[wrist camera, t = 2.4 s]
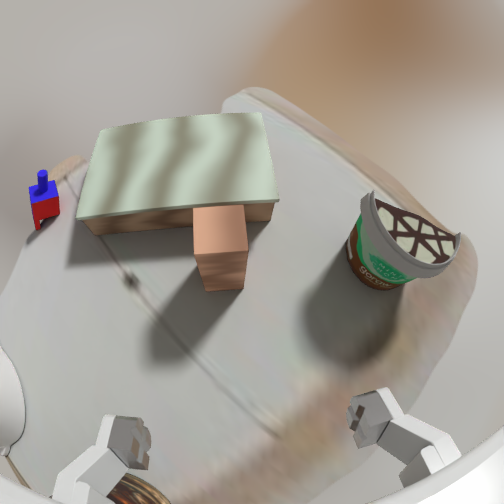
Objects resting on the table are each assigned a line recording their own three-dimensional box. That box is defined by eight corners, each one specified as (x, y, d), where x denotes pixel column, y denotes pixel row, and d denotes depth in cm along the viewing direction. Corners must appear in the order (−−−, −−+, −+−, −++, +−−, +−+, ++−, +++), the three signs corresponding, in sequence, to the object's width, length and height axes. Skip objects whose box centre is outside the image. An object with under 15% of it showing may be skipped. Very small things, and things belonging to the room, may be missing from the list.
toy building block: (60, 222, 33) (58, 179, 28) (35, 230, 30) (29, 187, 25) (55, 206, 34) (54, 164, 29) (32, 213, 31) (26, 171, 26)
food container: (324, 281, 31) (360, 242, 21) (335, 235, 33) (368, 187, 24) (412, 311, 30) (465, 287, 20) (417, 268, 32) (464, 234, 23)
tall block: (205, 291, 29) (194, 254, 20) (203, 257, 31) (193, 208, 22) (243, 288, 30) (248, 250, 20) (239, 254, 31) (243, 204, 22)
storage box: (92, 237, 31) (75, 218, 26) (110, 152, 36) (100, 130, 32) (273, 222, 33) (279, 199, 29) (258, 138, 39) (261, 112, 34)
